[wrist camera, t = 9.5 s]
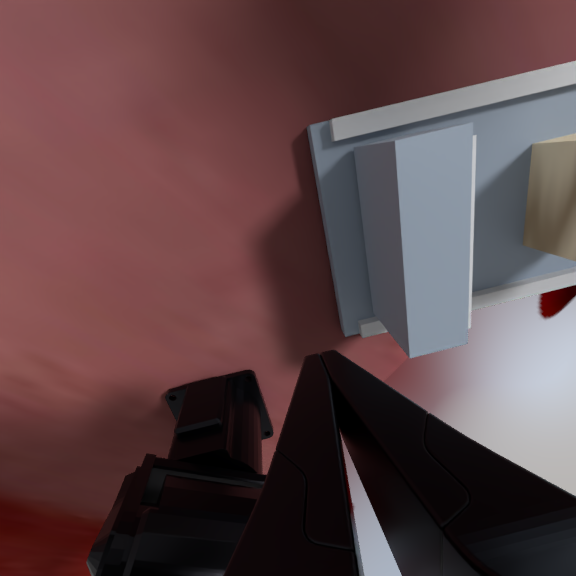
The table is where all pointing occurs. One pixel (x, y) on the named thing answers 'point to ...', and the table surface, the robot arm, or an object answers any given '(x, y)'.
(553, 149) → the block
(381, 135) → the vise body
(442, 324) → the block
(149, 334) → the table surface
